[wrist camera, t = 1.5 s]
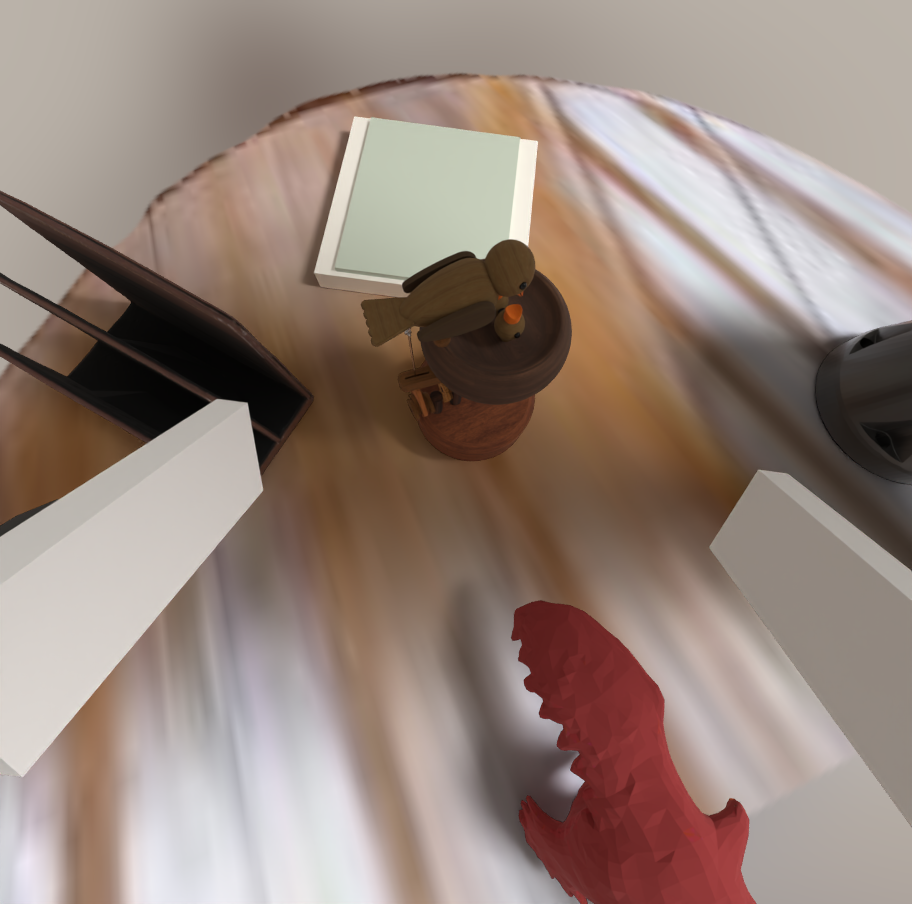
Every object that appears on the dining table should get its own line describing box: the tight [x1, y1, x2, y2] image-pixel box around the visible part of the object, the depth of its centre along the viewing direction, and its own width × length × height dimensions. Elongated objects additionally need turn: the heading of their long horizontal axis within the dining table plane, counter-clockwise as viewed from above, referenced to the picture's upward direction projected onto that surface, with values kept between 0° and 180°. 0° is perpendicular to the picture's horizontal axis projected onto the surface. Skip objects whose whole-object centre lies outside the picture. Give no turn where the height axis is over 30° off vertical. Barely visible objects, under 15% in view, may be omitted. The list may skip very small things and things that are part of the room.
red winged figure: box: [511, 600, 756, 904], centre depth 24 cm, size 28×9×15 cm
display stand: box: [314, 117, 538, 298], centre depth 39 cm, size 20×20×2 cm
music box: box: [361, 239, 572, 461], centre depth 26 cm, size 15×11×20 cm
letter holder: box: [0, 191, 314, 475], centre depth 28 cm, size 10×20×14 cm, turn 61°
